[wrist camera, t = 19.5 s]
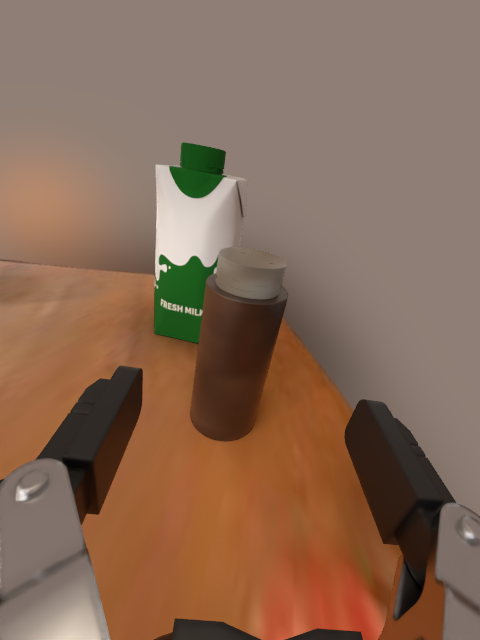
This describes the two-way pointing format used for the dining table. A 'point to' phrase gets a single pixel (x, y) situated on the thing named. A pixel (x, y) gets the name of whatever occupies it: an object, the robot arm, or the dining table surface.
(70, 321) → the dining table surface
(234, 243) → the milk carton
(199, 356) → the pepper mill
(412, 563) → the robot arm
